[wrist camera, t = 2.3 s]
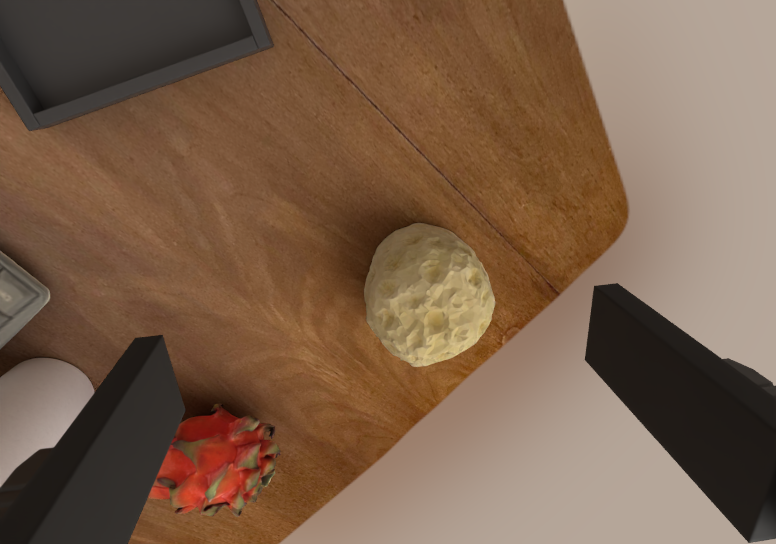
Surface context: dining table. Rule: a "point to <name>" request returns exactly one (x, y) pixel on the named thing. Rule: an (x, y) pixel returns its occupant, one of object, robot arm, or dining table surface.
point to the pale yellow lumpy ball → (427, 295)
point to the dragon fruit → (216, 463)
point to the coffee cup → (38, 408)
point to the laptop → (18, 298)
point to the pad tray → (115, 50)
